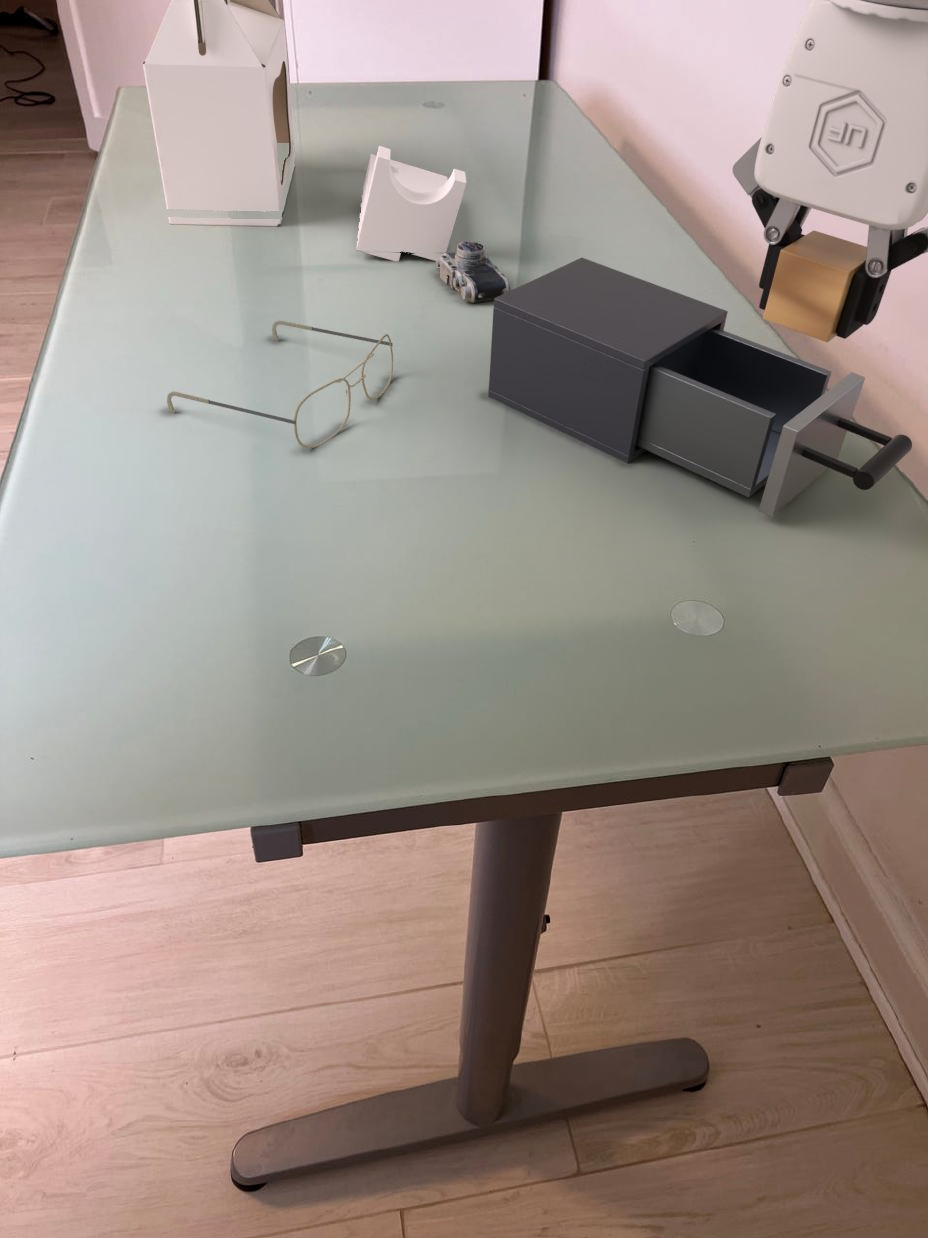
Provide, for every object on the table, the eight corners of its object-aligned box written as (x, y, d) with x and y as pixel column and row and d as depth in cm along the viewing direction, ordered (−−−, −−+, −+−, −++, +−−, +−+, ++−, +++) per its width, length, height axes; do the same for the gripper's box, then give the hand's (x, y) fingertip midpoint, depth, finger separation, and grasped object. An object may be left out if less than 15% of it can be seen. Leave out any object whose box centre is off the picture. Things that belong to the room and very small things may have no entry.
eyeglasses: (311, 460, 82) (307, 407, 79) (168, 413, 87) (158, 361, 84) (405, 378, 93) (405, 328, 90) (273, 339, 98) (268, 291, 94)
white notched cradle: (439, 273, 114) (466, 183, 107) (356, 250, 111) (378, 156, 105) (436, 214, 127) (460, 130, 120) (361, 192, 125) (381, 106, 118)
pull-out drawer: (902, 487, 81) (936, 403, 76) (840, 550, 74) (872, 463, 69) (690, 397, 90) (708, 317, 85) (619, 446, 84) (633, 362, 79)
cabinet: (705, 409, 91) (728, 310, 84) (627, 464, 84) (645, 360, 77) (570, 351, 98) (581, 256, 92) (487, 397, 91) (493, 297, 84)
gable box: (280, 228, 119) (254, -51, 100) (168, 226, 118) (121, -55, 99) (296, 165, 135) (276, -84, 116) (198, 163, 134) (162, -88, 115)
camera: (467, 309, 104) (468, 270, 101) (432, 270, 111) (432, 233, 108) (510, 302, 106) (513, 263, 103) (473, 264, 113) (475, 227, 110)
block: (858, 319, 62) (881, 250, 59) (827, 343, 60) (849, 272, 57) (794, 297, 64) (813, 229, 61) (762, 319, 62) (780, 249, 59)
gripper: (727, -46, 51) (664, 292, 63) (1065, 14, 43) (918, 386, 56) (794, -61, 55) (722, 259, 68) (1112, -8, 48) (966, 342, 60)
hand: (812, 313), depth 62 cm, fingers closed on block, 4 cm apart
